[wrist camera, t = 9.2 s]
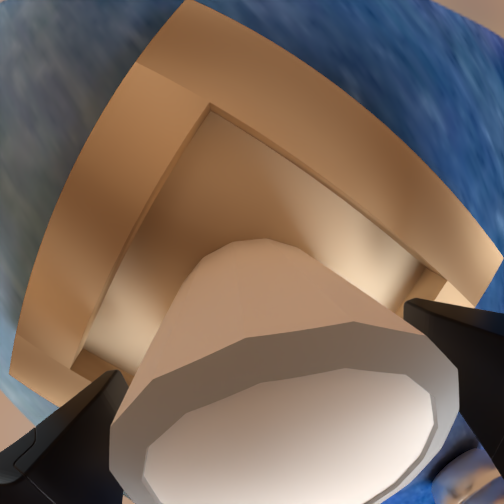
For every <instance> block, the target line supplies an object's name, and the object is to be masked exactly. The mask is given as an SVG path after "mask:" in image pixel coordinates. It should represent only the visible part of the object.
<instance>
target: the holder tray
mask: <svg viewBox="0 0 504 504" xmlns="http://www.w3.org/2000/svg"><path fill="white" fill-rule="evenodd" d="M263 238H267V239H271V240H274V241H278V242H281V243H284V244H288V245H291V246H294V247H297V248H299V249H300V250H302V251H303V252H305V253H306V254H308V255H309V256H311V257H312V258H314V259H315V260H317V261H318V262H320V263H321V264H323V265H324V266H326V267H327V268H329V269H330V270H332V271H333V272H335V273H336V274H338V275H339V276H341V277H342V278H344V279H345V280H347V281H348V282H350V283H351V284H353V285H354V286H356V287H357V288H358V289H360V290H361V291H363V292H364V293H366V294H367V295H369V296H370V297H372V298H373V299H375V300H376V301H377V302H379V303H380V304H382V305H383V306H385V307H386V308H388V309H389V310H390V311H392V312H393V313H395V314H396V315H398V316H399V317H400V318H402V319H403V306H404V303H405V301H407V300H410V299H413V298H421V299H426V300H431V301H437V302H442V303H448V304H453V305H458V306H464V307H469V308H475V306H476V305H477V303H478V302H479V300H480V298H481V297H482V295H483V294H484V292H485V290H486V289H487V287H488V285H489V284H490V282H491V280H492V278H493V277H494V275H495V273H496V271H497V269H498V268H499V266H500V264H501V262H502V260H503V256H502V255H501V253H500V252H499V250H498V249H497V248H496V246H495V245H494V244H493V242H492V241H491V240H490V238H489V237H488V236H487V234H486V233H485V232H484V230H483V229H482V228H481V226H480V225H479V224H478V223H477V221H476V220H475V219H474V218H473V216H472V215H471V214H470V213H469V211H468V210H467V209H466V208H465V207H464V205H463V204H462V203H461V202H460V201H459V200H458V198H457V197H456V196H455V195H454V194H453V193H452V192H451V190H450V189H449V188H448V187H447V186H446V185H445V184H444V183H443V182H442V180H441V179H440V178H439V177H438V176H437V175H436V174H435V173H434V172H433V171H432V170H431V169H430V168H429V167H428V166H427V165H426V164H425V163H424V162H423V161H422V160H421V159H420V158H419V157H418V156H417V155H416V154H415V153H414V152H413V151H412V150H411V149H410V148H409V147H408V146H407V145H406V144H405V143H404V142H403V141H402V140H401V139H400V138H399V137H398V136H397V135H396V134H394V133H393V132H392V131H391V130H390V129H389V128H388V127H387V126H386V125H384V124H383V123H382V122H381V121H380V120H379V119H378V118H376V117H375V116H374V115H373V114H372V113H371V112H369V111H368V110H367V109H366V108H365V107H363V106H362V105H361V104H360V103H358V102H357V101H356V100H355V99H353V98H352V97H351V96H350V95H348V94H347V93H346V92H345V91H343V90H342V89H341V88H339V87H338V86H337V85H335V84H334V83H333V82H331V81H330V80H329V79H327V78H326V77H325V76H323V75H322V74H320V73H319V72H318V71H316V70H315V69H313V68H312V67H310V66H309V65H308V64H306V63H305V62H303V61H302V60H300V59H299V58H297V57H296V56H294V55H293V54H291V53H289V52H288V51H286V50H285V49H283V48H282V47H280V46H278V45H277V44H275V43H273V42H272V41H270V40H268V39H267V38H265V37H263V36H262V35H260V34H258V33H257V32H255V31H253V30H251V29H249V28H248V27H246V26H244V25H242V24H240V23H239V22H237V21H235V20H233V19H231V18H229V17H227V16H225V15H223V14H221V13H219V12H217V11H215V10H213V9H211V8H209V7H207V6H205V5H203V4H200V3H198V2H196V1H194V0H185V1H184V2H183V3H182V4H181V5H180V7H179V8H178V9H177V10H176V11H175V12H174V13H173V15H172V16H171V17H170V18H169V19H168V21H167V22H166V23H165V24H164V25H163V27H162V28H161V29H160V30H159V31H158V33H157V34H156V35H155V37H154V38H153V39H152V40H151V42H150V43H149V44H148V46H147V47H146V48H145V50H144V51H143V52H142V54H141V55H140V56H139V58H138V59H137V60H136V62H135V63H134V65H133V66H132V68H131V69H130V70H129V72H128V73H127V75H126V76H125V78H124V79H123V81H122V82H121V84H120V85H119V87H118V88H117V90H116V91H115V93H114V95H113V96H112V98H111V99H110V101H109V102H108V104H107V106H106V107H105V109H104V111H103V112H102V114H101V116H100V117H99V119H98V121H97V123H96V124H95V126H94V128H93V130H92V132H91V133H90V135H89V137H88V139H87V141H86V143H85V144H84V146H83V148H82V150H81V152H80V154H79V156H78V158H77V160H76V162H75V164H74V166H73V168H72V170H71V172H70V174H69V177H68V179H67V181H66V183H65V185H64V187H63V190H62V192H61V194H60V197H59V199H58V201H57V204H56V206H55V208H54V211H53V213H52V216H51V218H50V221H49V223H48V226H47V229H46V231H45V234H44V237H43V240H42V242H41V245H40V248H39V251H38V254H37V257H36V260H35V263H34V266H33V269H32V273H31V276H30V279H29V283H28V286H27V290H26V294H25V297H24V301H23V305H22V309H21V313H20V317H19V322H18V326H17V331H16V336H15V341H14V346H13V351H12V357H11V363H10V370H9V374H10V375H11V376H12V377H14V378H15V379H17V380H18V381H19V382H21V383H22V384H24V385H25V386H27V387H28V388H30V389H31V390H33V391H34V392H36V393H37V394H39V395H40V396H42V397H43V398H45V399H47V400H48V401H50V402H51V403H53V404H55V405H56V406H58V407H61V406H63V405H64V404H65V403H66V402H68V401H69V400H70V399H71V398H73V397H74V396H75V395H77V394H78V393H79V392H80V391H82V390H83V389H84V388H85V387H87V386H88V385H89V384H91V383H92V382H93V381H94V380H96V379H97V378H98V377H99V376H101V375H102V374H103V373H104V372H106V371H108V370H116V369H118V370H119V371H120V372H121V373H122V375H123V377H124V379H125V381H126V383H127V384H128V386H130V384H131V382H132V380H133V378H134V376H135V374H136V372H137V370H138V368H139V366H140V364H141V362H142V360H143V358H144V356H145V354H146V352H147V350H148V348H149V346H150V344H151V342H152V340H153V338H154V336H155V335H156V333H157V331H158V329H159V327H160V325H161V323H162V321H163V319H164V317H165V315H166V313H167V311H168V310H169V308H170V306H171V304H172V302H173V300H174V298H175V296H176V295H177V293H178V291H179V289H180V287H181V285H182V283H183V282H184V280H185V279H186V278H187V277H188V275H189V274H190V273H191V272H192V270H193V269H194V268H195V267H196V265H197V264H198V263H199V262H200V261H201V259H202V258H203V257H205V256H207V255H208V254H210V253H212V252H214V251H216V250H218V249H220V248H222V247H223V246H225V245H227V244H229V243H231V242H234V241H243V240H253V239H263Z"/></svg>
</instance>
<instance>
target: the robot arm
mask: <svg viewBox="0 0 504 504" xmlns="http://www.w3.org/2000/svg"><path fill="white" fill-rule="evenodd" d="M403 320H405V321H406V322H408V323H409V324H410V325H412V326H413V327H415V328H416V329H418V330H419V331H420V332H422V333H423V334H425V335H426V336H427V337H428V338H429V339H430V340H431V341H432V342H433V343H434V344H435V345H436V346H437V347H438V348H439V350H440V351H441V352H442V353H443V354H444V355H445V356H446V357H447V358H448V359H449V360H450V361H451V362H452V364H453V365H454V366H455V367H456V368H457V369H458V382H459V412H460V414H461V415H462V417H463V418H464V419H465V421H466V422H467V424H468V425H469V427H470V428H471V430H472V431H473V433H474V434H475V436H476V437H477V439H478V440H479V442H480V443H481V445H482V446H483V448H484V449H485V451H486V452H487V454H488V455H489V457H490V458H491V461H492V462H493V464H494V465H495V467H496V468H497V470H498V472H499V473H500V475H501V477H502V478H503V480H504V314H503V313H497V312H492V311H486V310H480V309H475V308H469V307H464V306H458V305H453V304H448V303H442V302H437V301H431V300H426V299H421V298H413V299H410V300H407V301H405V303H404V306H403ZM128 388H129V386H128V384H127V383H126V381H125V379H124V377H123V375H122V373H121V372H120V371H119V370H118V369H116V370H108V371H106V372H104V373H103V374H102V375H101V376H99V377H98V378H97V379H96V380H94V381H93V382H92V383H91V384H89V385H88V386H87V387H85V388H84V389H83V390H82V391H80V392H79V393H78V394H77V395H75V396H74V397H73V398H71V399H70V400H69V401H68V402H66V403H65V404H64V405H63V406H61V407H60V408H59V409H57V410H56V411H55V412H54V413H52V414H51V415H50V416H49V417H47V418H46V419H45V420H43V421H42V422H41V423H40V424H38V425H37V426H36V428H33V429H32V430H31V431H29V433H27V434H26V435H24V436H23V437H21V438H20V439H19V440H17V441H16V442H15V443H13V444H12V445H10V446H9V447H7V448H6V449H4V450H3V451H1V452H0V504H122V497H123V488H122V487H121V486H120V484H119V483H118V481H117V480H116V479H115V477H114V476H113V474H112V473H111V471H110V470H109V446H110V426H111V424H112V422H113V420H114V418H115V416H116V413H117V411H118V409H119V407H120V405H121V403H122V401H123V399H124V397H125V395H126V393H127V390H128Z"/></svg>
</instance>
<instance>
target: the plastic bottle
mask: <svg viewBox="0 0 504 504" xmlns="http://www.w3.org/2000/svg"><path fill="white" fill-rule="evenodd" d="M432 494H433V497H434V500H435V503H436V504H504V480H503V478H502V477H501V475H500V473H499V472H498V470H497V468H496V467H495V465H494V464H493V462H492V461H491V458H490V457H489V455H488V454H487V452H486V451H485V450H483V449H477V448H474V449H471V450H468V451H466V452H464V453H463V454H461V455H460V456H458V457H457V458H455V459H454V460H453V461H451V462H450V463H449V464H448V465H447V466H445V467H444V468H443V469H442V470H441V471H440V472H439V473H438V474H437V476H436V477H435V478H434V480H433V483H432Z"/></svg>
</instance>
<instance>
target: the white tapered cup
mask: <svg viewBox="0 0 504 504" xmlns="http://www.w3.org/2000/svg"><path fill="white" fill-rule="evenodd" d="M458 411H459V382H458V369H457V368H456V367H455V366H454V365H453V364H452V362H451V361H450V360H449V359H448V358H447V357H446V356H445V355H444V354H443V353H442V352H441V351H440V350H439V348H438V347H437V346H436V345H435V344H434V343H433V342H432V341H431V340H430V339H429V338H428V337H427V336H426V335H425V334H423V333H422V332H420V331H419V330H418V329H416V328H415V327H413V326H412V325H410V324H409V323H408V322H406V321H405V320H403V319H402V318H400V317H399V316H398V315H396V314H395V313H393V312H392V311H390V310H389V309H388V308H386V307H385V306H383V305H382V304H380V303H379V302H377V301H376V300H375V299H373V298H372V297H370V296H369V295H367V294H366V293H364V292H363V291H361V290H360V289H358V288H357V287H356V286H354V285H353V284H351V283H350V282H348V281H347V280H345V279H344V278H342V277H341V276H339V275H338V274H336V273H335V272H333V271H332V270H330V269H329V268H327V267H326V266H324V265H323V264H321V263H320V262H318V261H317V260H315V259H314V258H312V257H311V256H309V255H308V254H306V253H305V252H303V251H302V250H300V249H299V248H297V247H294V246H291V245H288V244H284V243H281V242H278V241H274V240H271V239H267V238H263V239H253V240H243V241H234V242H231V243H229V244H227V245H225V246H223V247H222V248H220V249H218V250H216V251H214V252H212V253H210V254H208V255H207V256H205V257H203V258H202V259H201V261H200V262H199V263H198V264H197V265H196V267H195V268H194V269H193V270H192V272H191V273H190V274H189V275H188V277H187V278H186V279H185V280H184V282H183V283H182V285H181V287H180V289H179V291H178V293H177V295H176V296H175V298H174V300H173V302H172V304H171V306H170V308H169V310H168V311H167V313H166V315H165V317H164V319H163V321H162V323H161V325H160V327H159V329H158V331H157V333H156V335H155V336H154V338H153V340H152V342H151V344H150V346H149V348H148V350H147V352H146V354H145V356H144V358H143V360H142V362H141V364H140V366H139V368H138V370H137V372H136V374H135V376H134V378H133V380H132V382H131V384H130V386H129V388H128V390H127V393H126V395H125V397H124V399H123V401H122V403H121V405H120V407H119V409H118V411H117V413H116V416H115V418H114V420H113V422H112V424H111V426H110V446H109V470H110V471H111V473H112V474H113V476H114V477H115V479H116V480H117V481H118V483H119V484H120V486H121V487H122V488H123V490H124V491H125V492H126V494H127V495H128V496H129V498H130V499H131V500H132V501H133V503H135V504H380V503H382V502H383V501H385V500H386V499H388V498H389V497H391V496H392V495H394V494H395V493H396V492H398V491H399V490H401V489H402V488H404V487H405V486H406V485H408V484H409V483H410V482H411V481H412V480H413V479H414V478H415V477H416V476H417V475H418V474H419V473H420V472H421V471H422V470H423V468H424V467H425V466H426V465H427V464H428V463H429V462H430V461H431V460H432V459H433V457H434V456H435V455H436V454H437V453H438V452H439V450H440V449H441V448H442V446H443V444H444V442H445V440H446V438H447V436H448V433H449V431H450V429H451V427H452V425H453V423H454V420H455V418H456V416H457V413H458Z"/></svg>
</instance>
